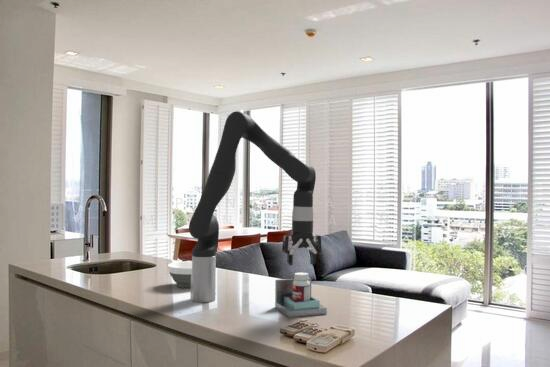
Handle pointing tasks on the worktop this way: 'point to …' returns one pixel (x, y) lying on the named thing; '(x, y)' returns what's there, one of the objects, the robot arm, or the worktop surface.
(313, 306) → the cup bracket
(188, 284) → the bowl
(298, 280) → the pill bottle
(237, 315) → the worktop surface
